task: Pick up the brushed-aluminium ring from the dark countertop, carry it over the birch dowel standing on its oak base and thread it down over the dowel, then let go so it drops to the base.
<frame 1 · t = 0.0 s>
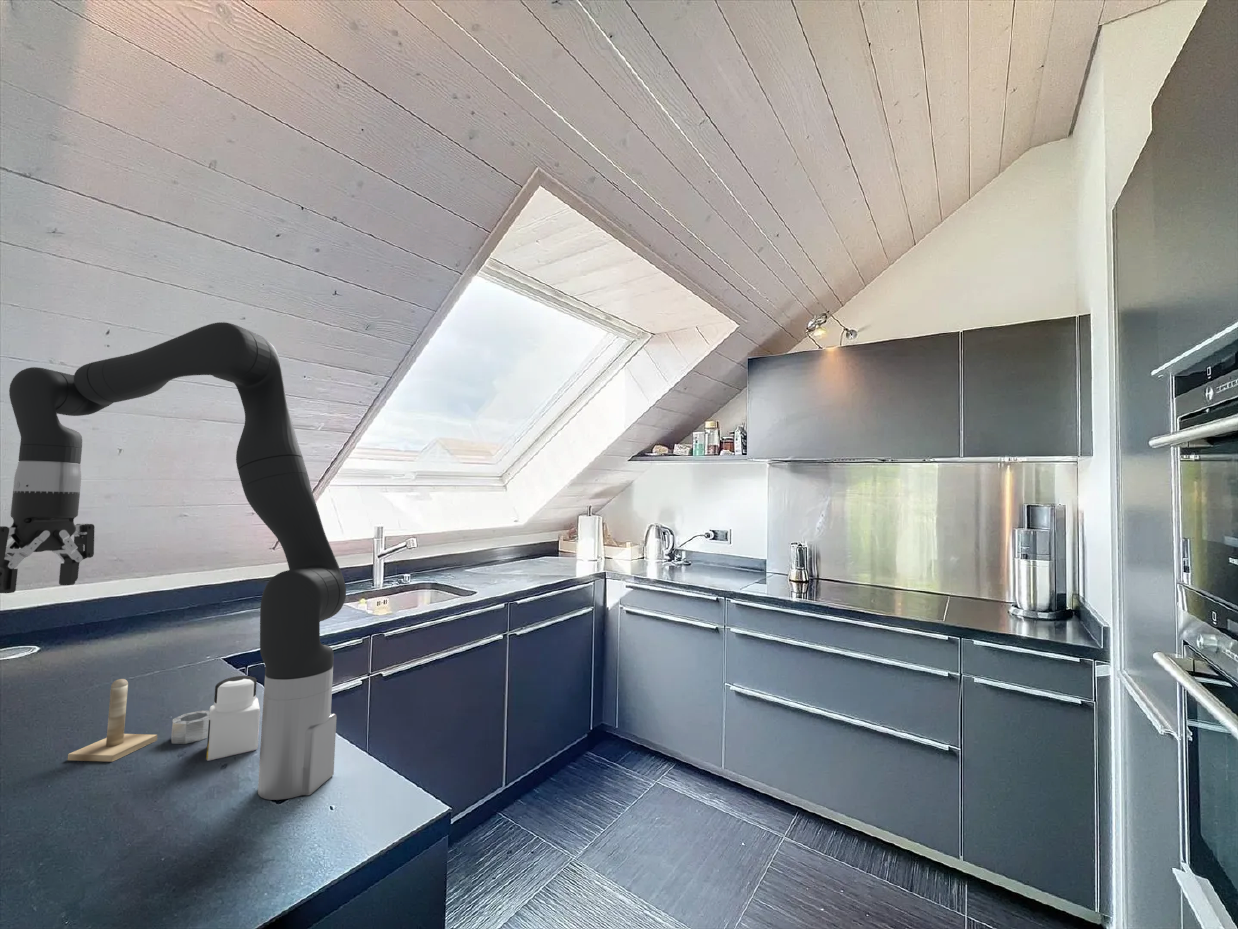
hand: (38, 588, 85), 29 cm above the counter, fingers open, 8 cm apart
medicine bottle: (232, 749, 92), on the counter
post stand: (114, 750, 91), on the counter
ring: (192, 736, 97), on the counter
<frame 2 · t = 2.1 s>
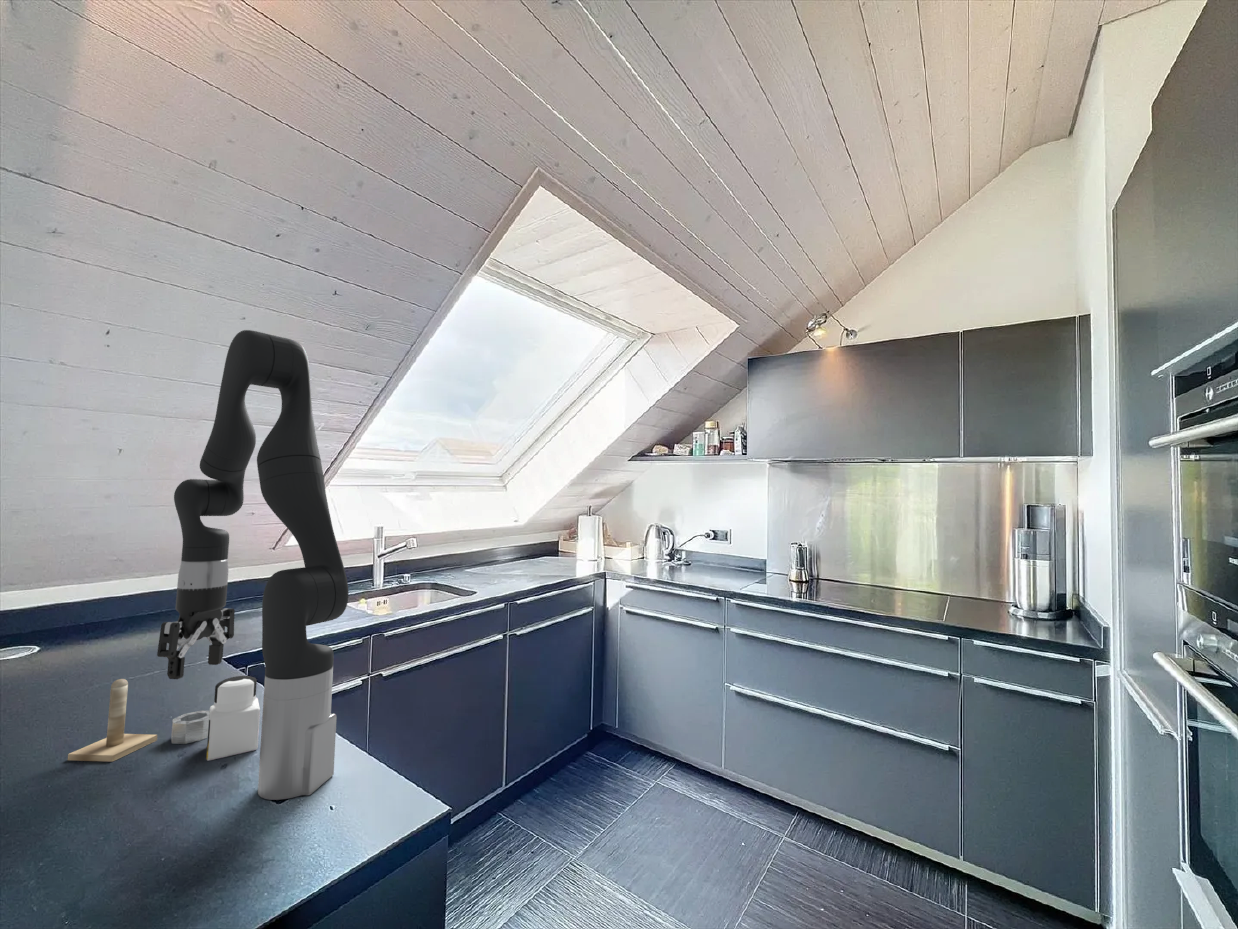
hand: (196, 671, 98), 12 cm above the counter, fingers open, 8 cm apart
nothing on the counter moved.
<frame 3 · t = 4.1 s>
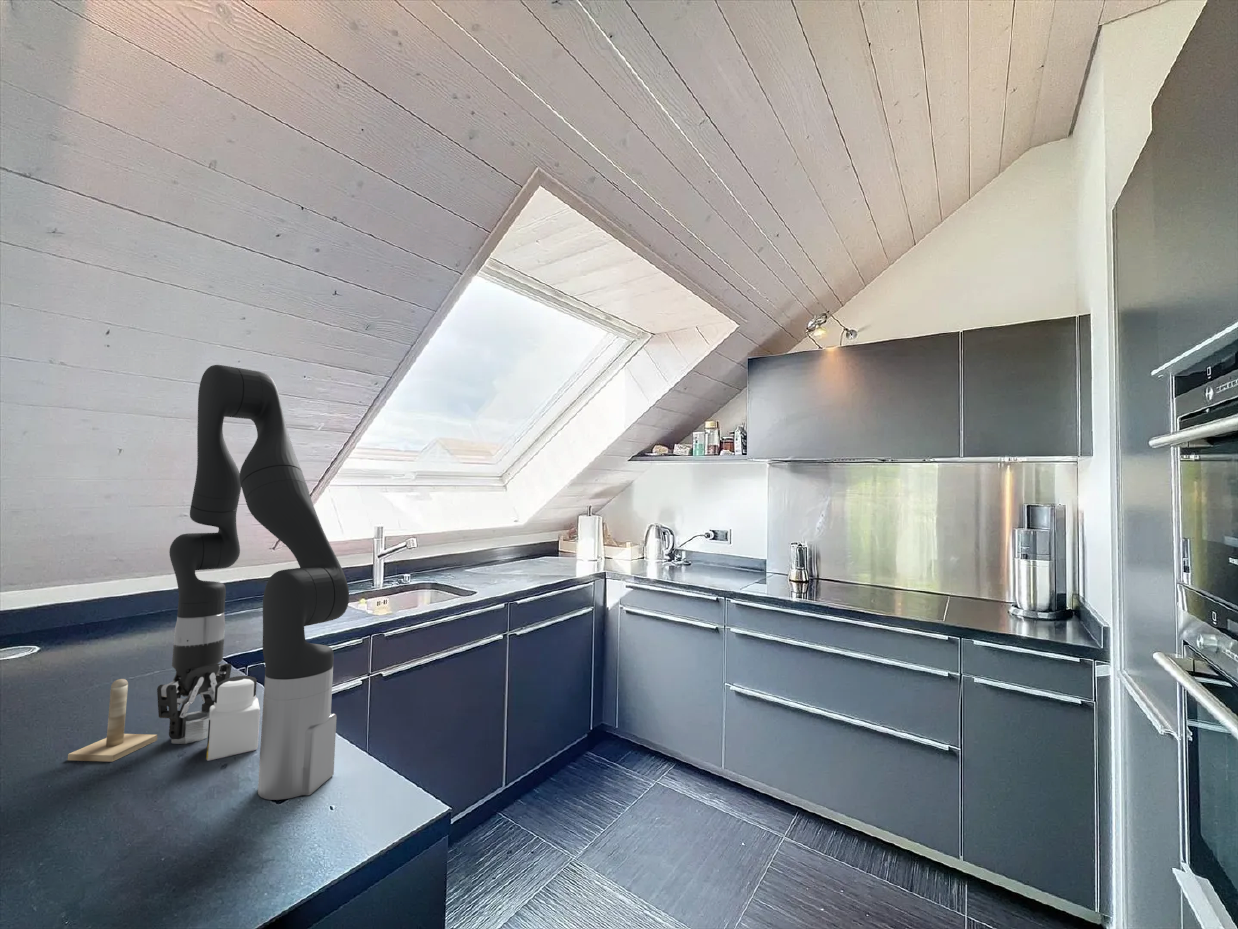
hand: (193, 730, 97), 1 cm above the counter, fingers closed on ring, 6 cm apart
ring: (192, 736, 97), on the counter, touching gripper
everything else where it was.
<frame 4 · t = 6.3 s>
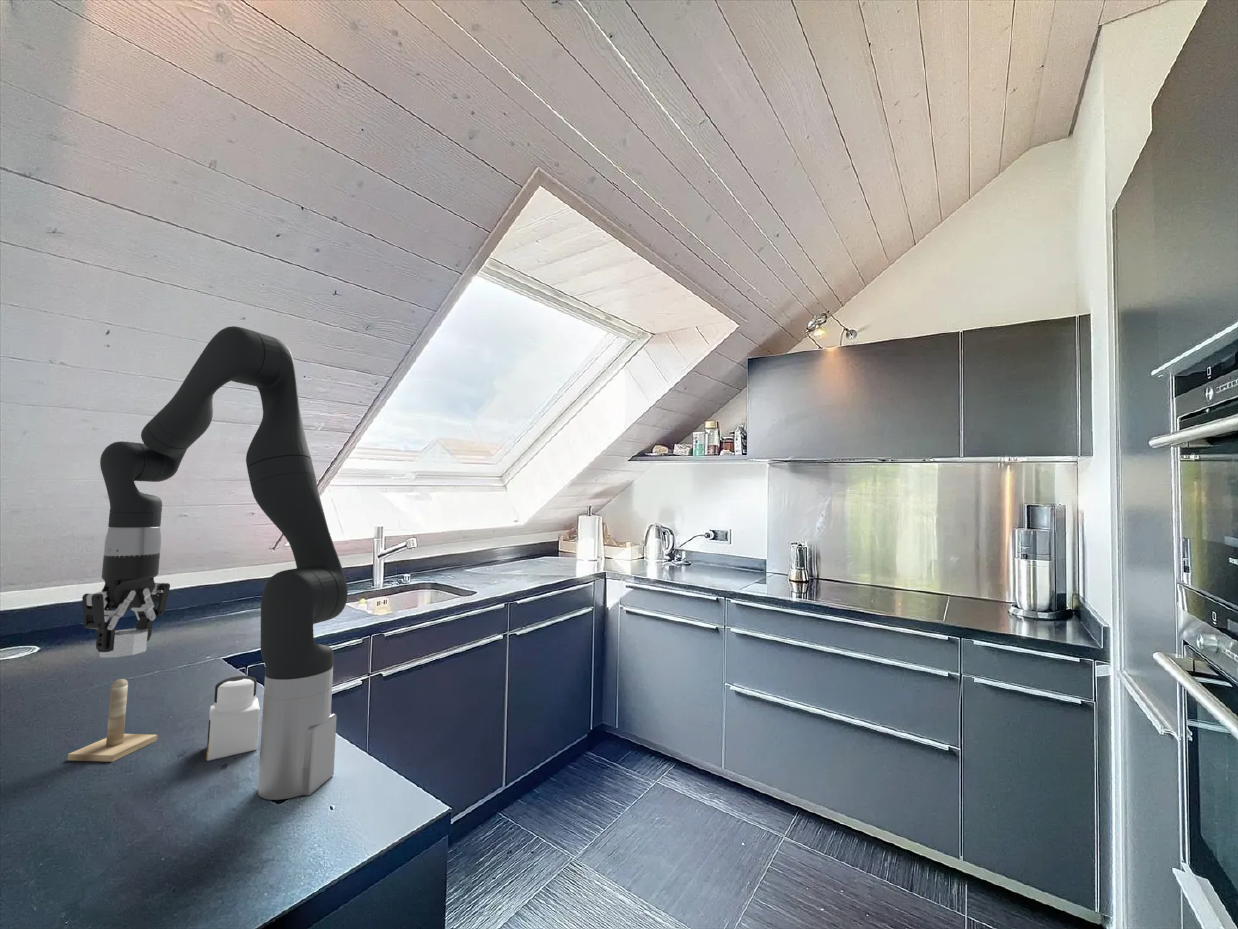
hand: (124, 646, 93), 18 cm above the counter, fingers closed on ring, 6 cm apart
ring: (123, 652, 93), point 17 cm above the counter, touching gripper
everything else where it was.
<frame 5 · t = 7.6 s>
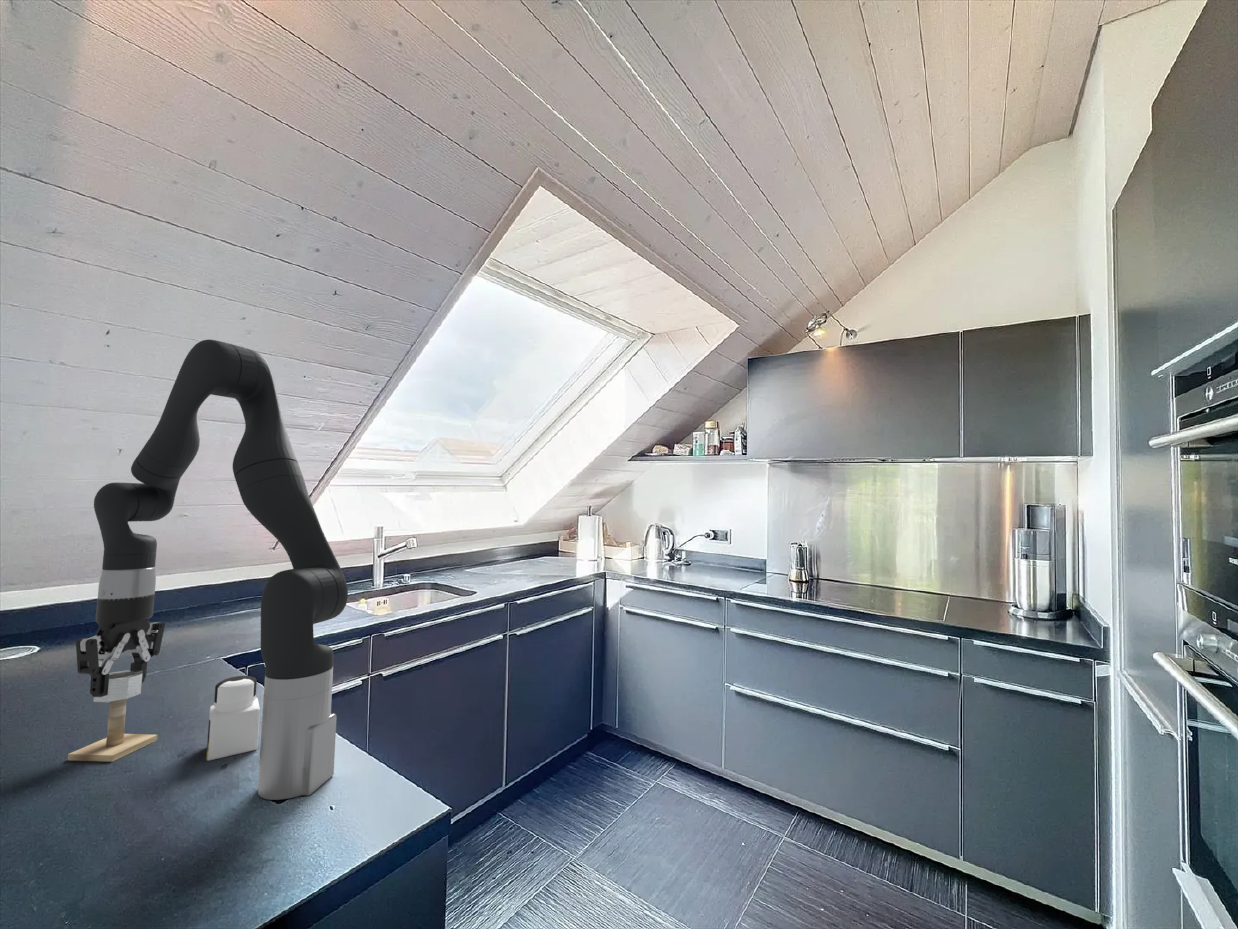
hand: (118, 689, 92), 10 cm above the counter, fingers closed on ring, 6 cm apart
ring: (117, 695, 92), point 9 cm above the counter, touching gripper
everything else where it was.
when the fingers open (10 cm above the counter, at t = 8.7 s): ring drops 7 cm, resting on post stand.
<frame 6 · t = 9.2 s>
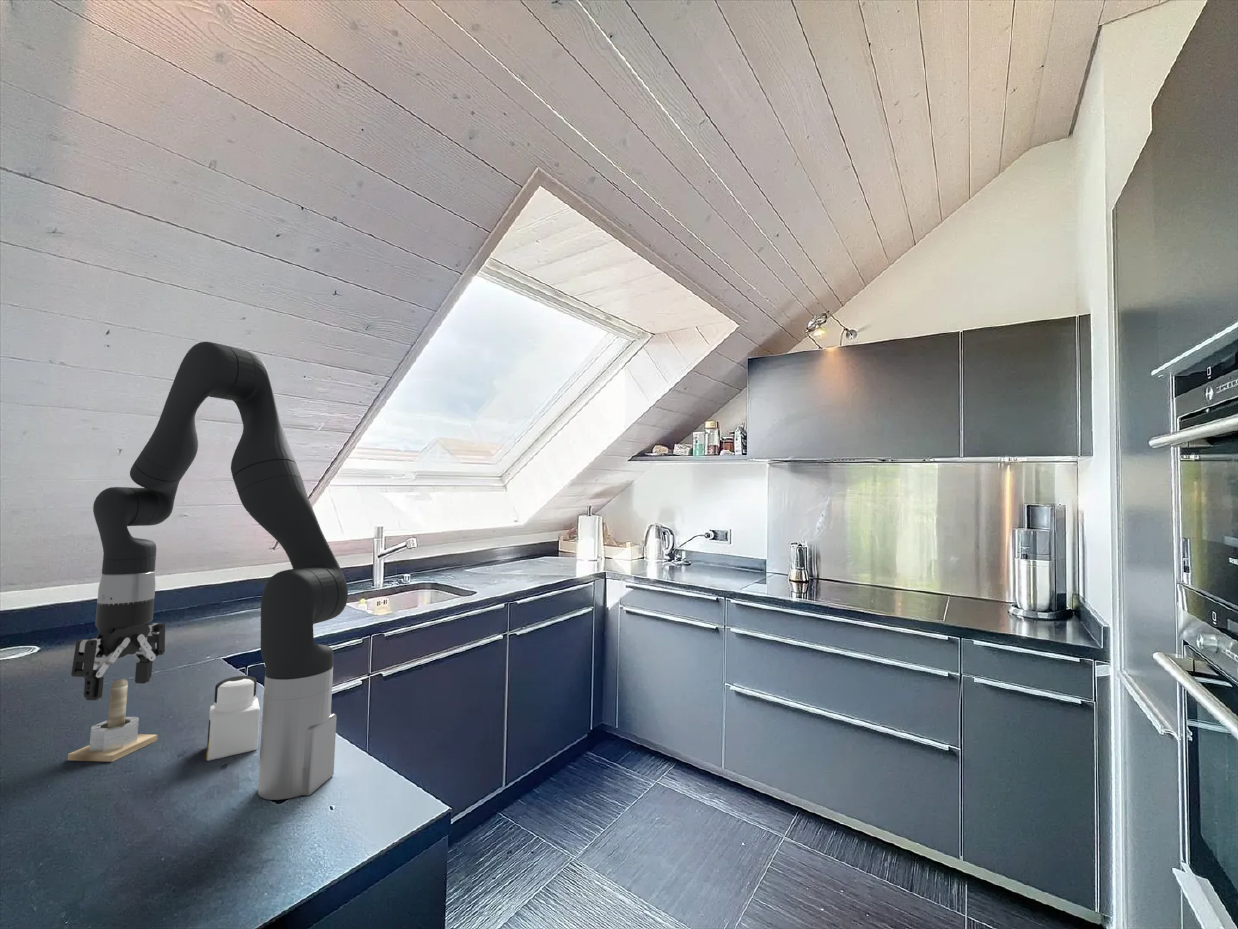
hand: (119, 690, 92), 10 cm above the counter, fingers open, 8 cm apart
ring: (113, 744, 91), point 1 cm above the counter, touching post stand
everything else where it was.
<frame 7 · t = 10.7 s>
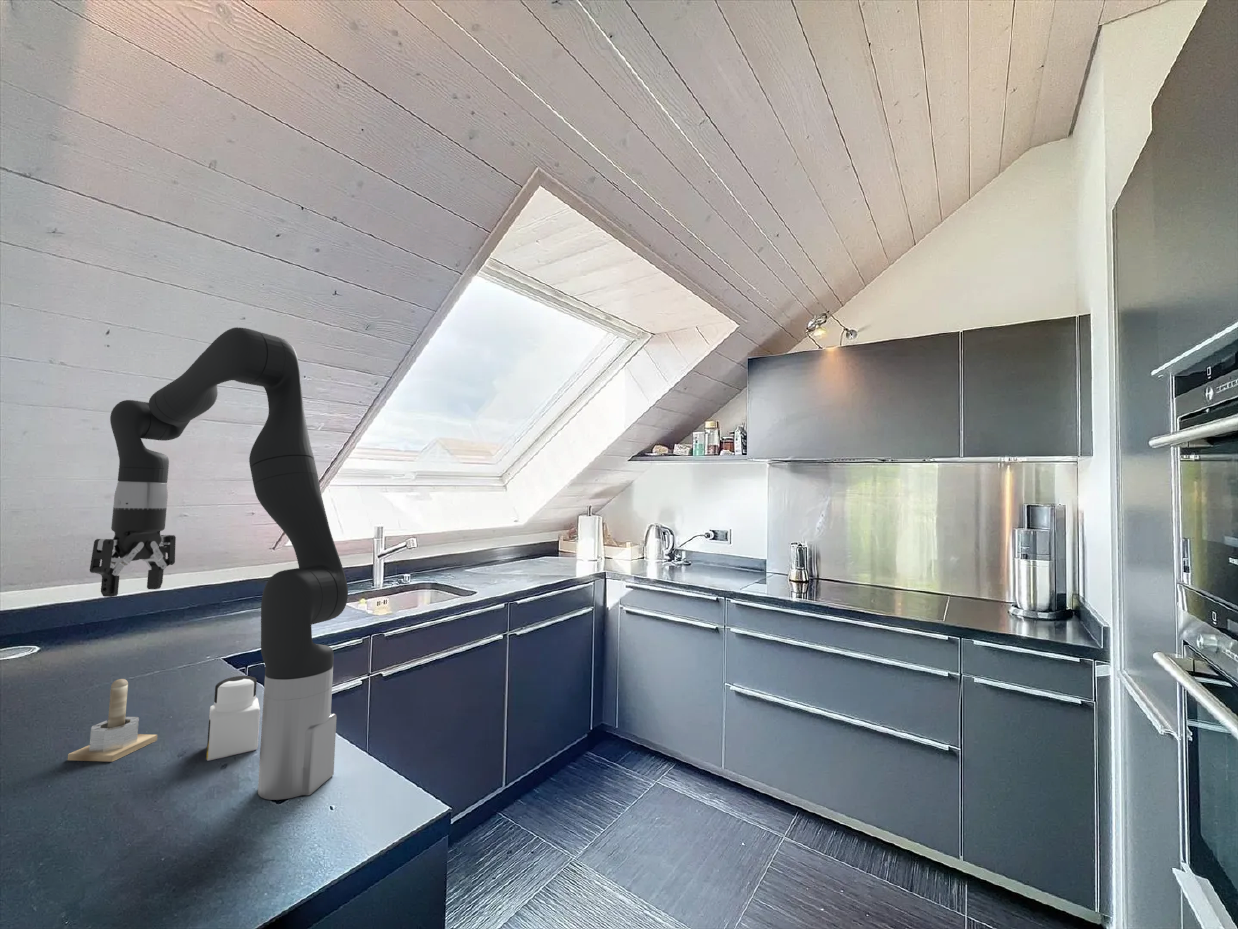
hand: (132, 592, 98), 27 cm above the counter, fingers open, 8 cm apart
nothing on the counter moved.
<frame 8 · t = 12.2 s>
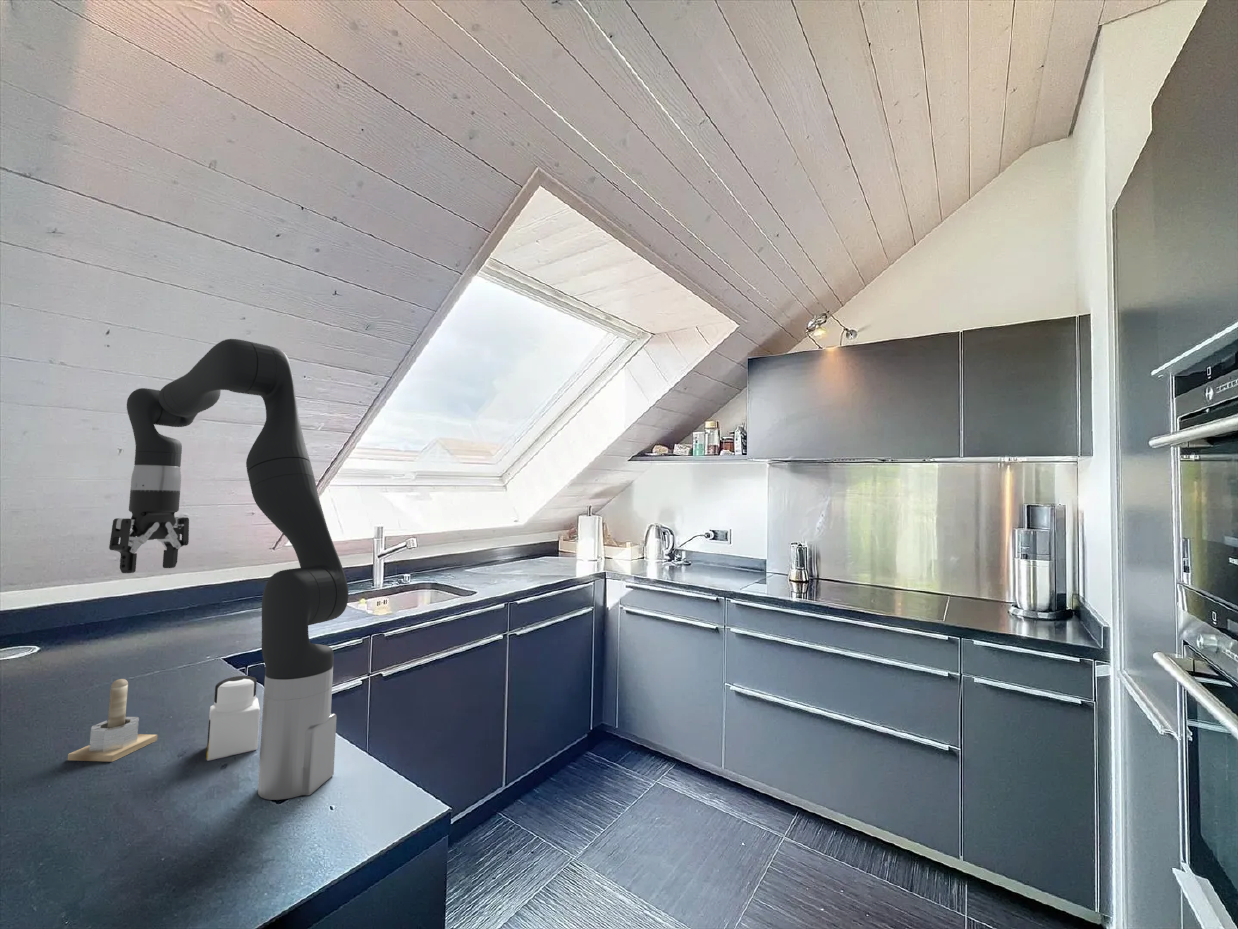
hand: (149, 570, 103), 30 cm above the counter, fingers open, 8 cm apart
nothing on the counter moved.
at the end: ring 0.1 cm off-centre on the post stand, point 1.0 cm above the post stand's base; the gripper is holding nothing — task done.
